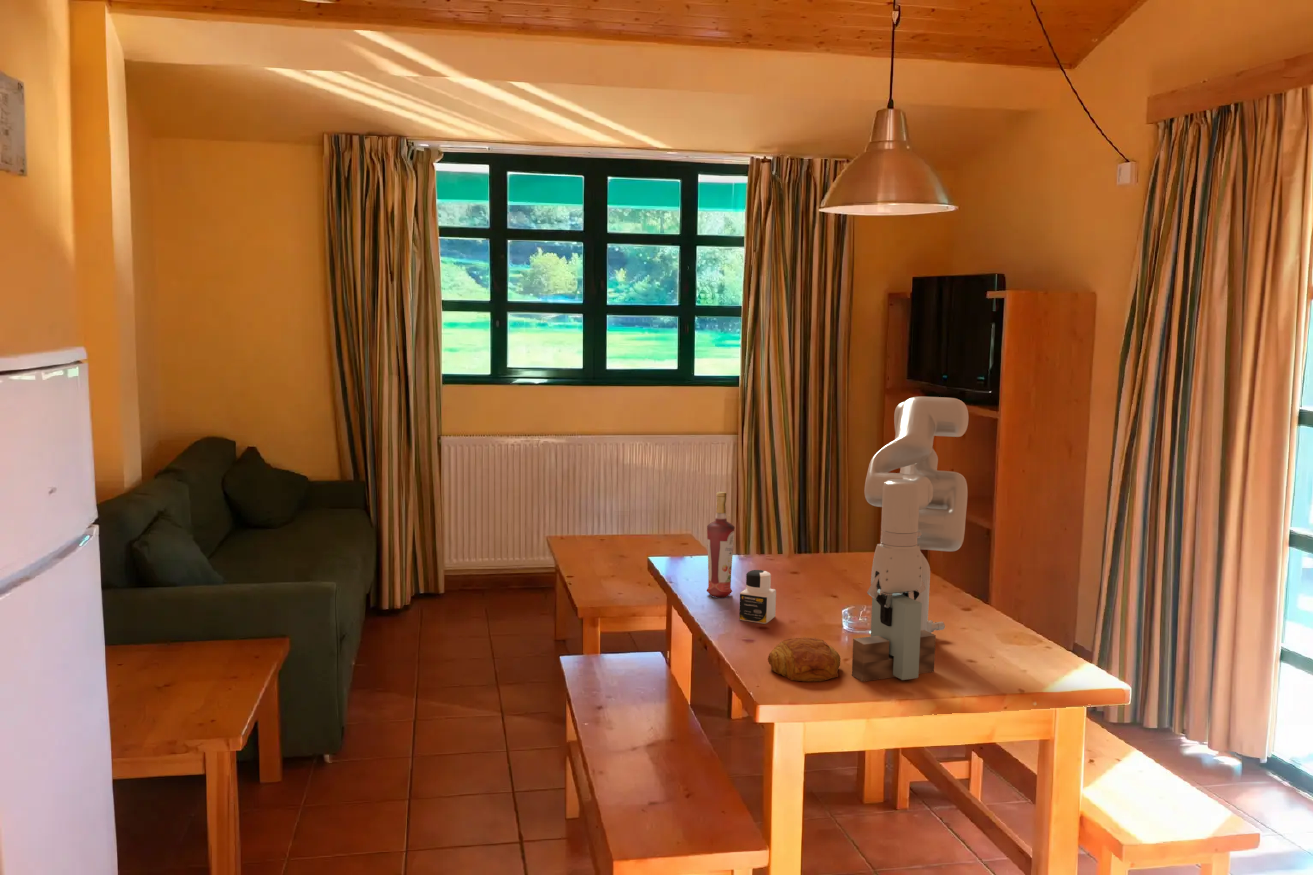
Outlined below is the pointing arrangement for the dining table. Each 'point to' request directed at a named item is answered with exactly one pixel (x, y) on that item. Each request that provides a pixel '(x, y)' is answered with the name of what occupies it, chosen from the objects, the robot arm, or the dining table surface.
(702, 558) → the dining table surface
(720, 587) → the liquor
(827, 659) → the croissant
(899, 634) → the plain rectangular block
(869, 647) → the mottled brown block
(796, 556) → the dining table surface
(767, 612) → the medicine bottle
